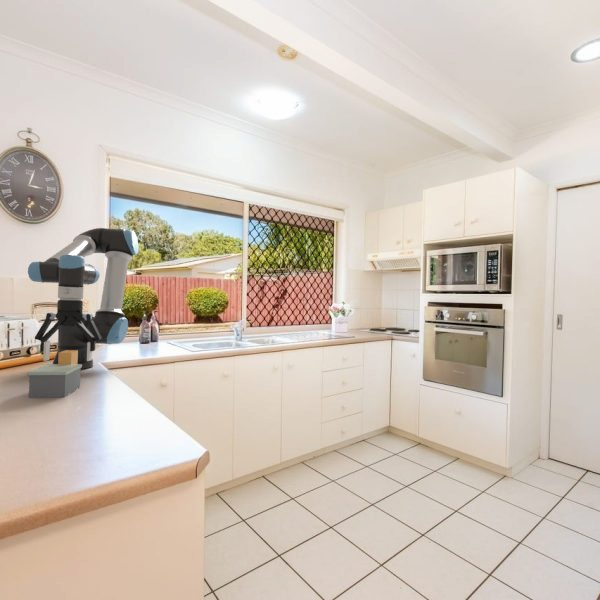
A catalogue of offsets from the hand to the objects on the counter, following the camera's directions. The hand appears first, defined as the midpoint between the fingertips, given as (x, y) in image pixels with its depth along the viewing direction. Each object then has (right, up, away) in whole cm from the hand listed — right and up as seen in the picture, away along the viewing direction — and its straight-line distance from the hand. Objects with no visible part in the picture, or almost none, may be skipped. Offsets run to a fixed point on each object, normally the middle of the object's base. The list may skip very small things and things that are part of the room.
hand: (68, 360), depth 128 cm
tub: (+1, -9, -8) cm, 12 cm away
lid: (+1, -3, -6) cm, 7 cm away
